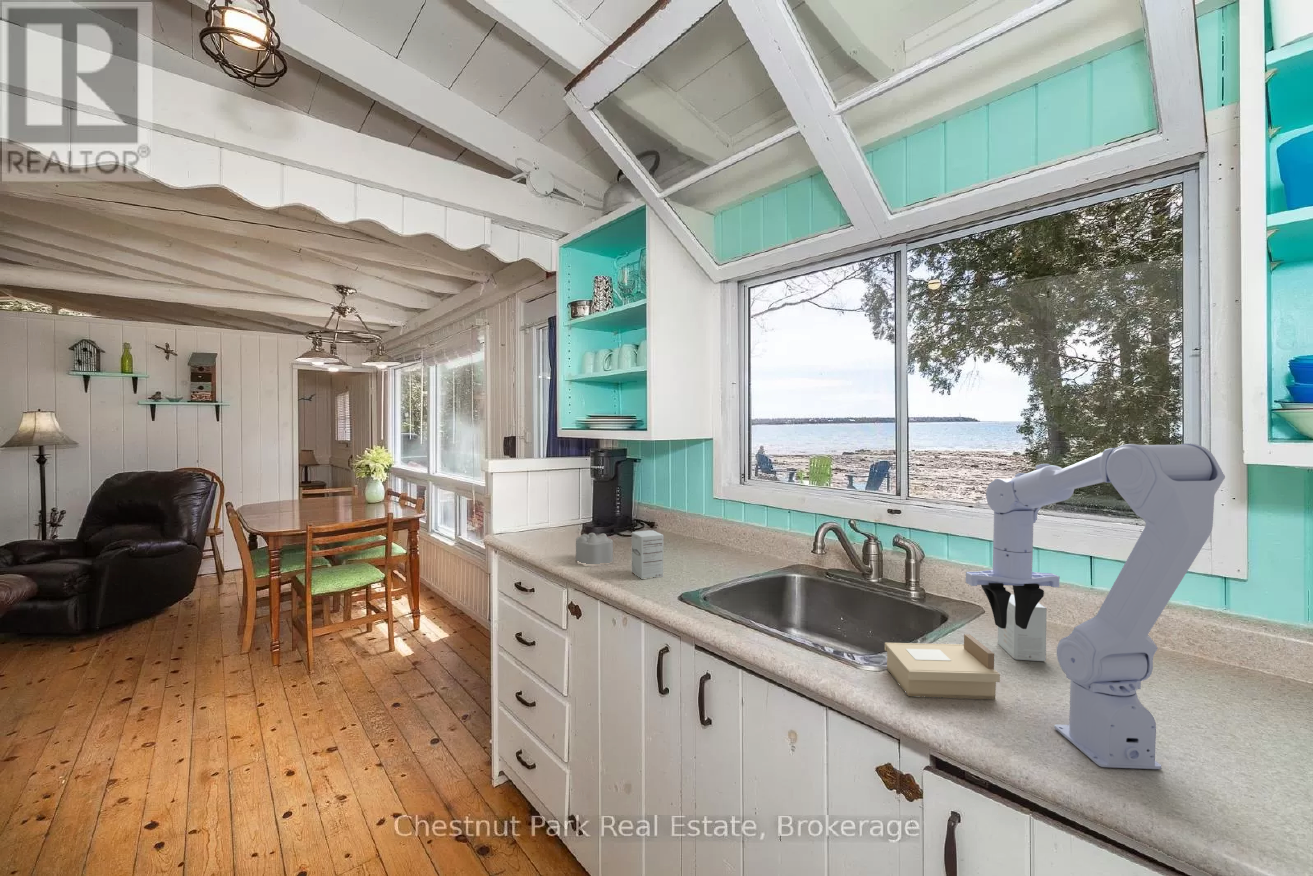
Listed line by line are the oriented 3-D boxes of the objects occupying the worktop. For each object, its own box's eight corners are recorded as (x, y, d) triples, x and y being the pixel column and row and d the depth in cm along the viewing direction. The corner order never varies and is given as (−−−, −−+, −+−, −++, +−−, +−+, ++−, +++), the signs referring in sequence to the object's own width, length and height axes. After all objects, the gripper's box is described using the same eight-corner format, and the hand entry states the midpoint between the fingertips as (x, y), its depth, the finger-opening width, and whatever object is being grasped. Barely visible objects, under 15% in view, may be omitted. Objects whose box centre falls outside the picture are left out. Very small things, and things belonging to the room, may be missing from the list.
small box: (1046, 662, 104) (1047, 608, 103) (1013, 660, 105) (1015, 606, 104) (1026, 645, 112) (1028, 594, 111) (996, 643, 113) (997, 592, 112)
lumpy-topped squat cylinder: (588, 568, 169) (588, 540, 168) (568, 559, 179) (568, 533, 179) (617, 562, 175) (616, 536, 175) (596, 554, 185) (595, 529, 185)
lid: (999, 682, 89) (1000, 658, 89) (909, 679, 90) (909, 655, 90) (964, 652, 101) (965, 630, 101) (884, 650, 102) (885, 628, 102)
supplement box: (631, 573, 163) (630, 531, 162) (653, 570, 166) (653, 529, 165) (640, 580, 156) (640, 536, 156) (664, 577, 159) (664, 534, 159)
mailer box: (995, 699, 90) (995, 675, 90) (908, 697, 91) (908, 673, 91) (965, 671, 100) (965, 649, 100) (886, 669, 101) (887, 648, 101)
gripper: (1041, 543, 98) (1039, 618, 98) (957, 542, 98) (956, 617, 99) (1068, 553, 90) (1066, 634, 91) (978, 552, 91) (976, 632, 92)
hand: (1010, 626), depth 95 cm, fingers open, 3 cm apart
